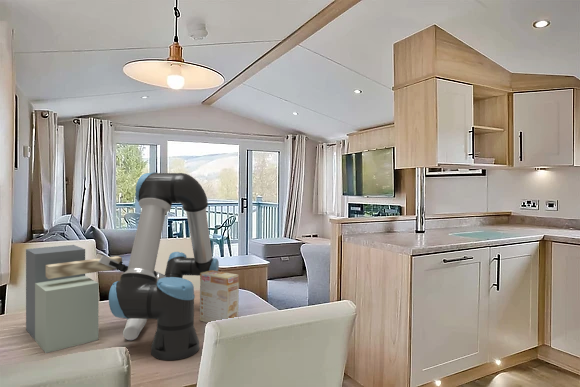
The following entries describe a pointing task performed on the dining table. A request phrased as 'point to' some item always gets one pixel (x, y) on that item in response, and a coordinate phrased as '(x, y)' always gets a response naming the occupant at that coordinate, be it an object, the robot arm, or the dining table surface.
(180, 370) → the dining table surface
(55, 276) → the wooden bar
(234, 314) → the coffeecake box
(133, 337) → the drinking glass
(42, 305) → the two-tone stepped block
